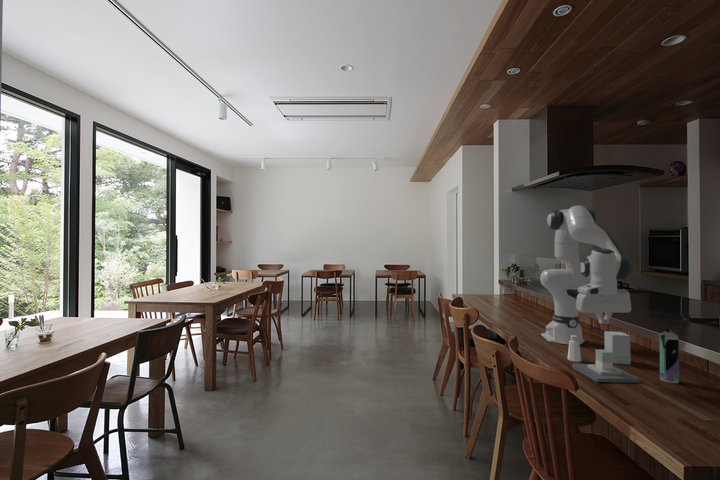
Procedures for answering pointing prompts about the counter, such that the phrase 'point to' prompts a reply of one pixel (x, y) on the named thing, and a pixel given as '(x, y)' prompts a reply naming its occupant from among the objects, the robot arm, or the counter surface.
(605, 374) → the square peg socket board
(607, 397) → the counter surface
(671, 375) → the spray can
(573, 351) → the pepper shaker
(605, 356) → the block stack
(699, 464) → the counter surface
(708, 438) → the counter surface
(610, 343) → the supplement box
